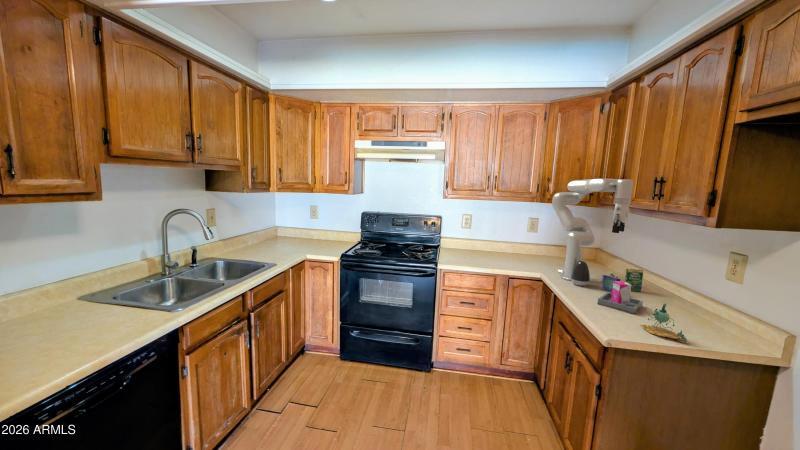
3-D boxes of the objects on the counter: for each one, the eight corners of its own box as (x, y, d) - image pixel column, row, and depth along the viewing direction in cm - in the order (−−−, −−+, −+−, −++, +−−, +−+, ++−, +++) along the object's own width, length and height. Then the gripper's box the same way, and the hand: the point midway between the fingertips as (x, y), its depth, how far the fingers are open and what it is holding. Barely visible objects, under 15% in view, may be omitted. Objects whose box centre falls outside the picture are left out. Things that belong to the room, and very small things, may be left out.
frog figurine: (675, 347, 122) (677, 310, 121) (632, 330, 139) (633, 297, 139) (694, 344, 124) (695, 308, 123) (649, 328, 141) (650, 296, 141)
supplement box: (621, 301, 165) (624, 281, 163) (629, 306, 159) (632, 284, 157) (610, 301, 165) (613, 280, 164) (617, 305, 159) (620, 284, 158)
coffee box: (624, 290, 186) (627, 269, 184) (623, 288, 189) (626, 267, 187) (641, 292, 183) (644, 271, 181) (639, 291, 185) (642, 269, 184)
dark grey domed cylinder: (586, 282, 197) (588, 259, 195) (591, 288, 188) (594, 264, 185) (568, 281, 200) (571, 258, 198) (572, 286, 190) (575, 262, 188)
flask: (599, 289, 186) (602, 270, 185) (602, 288, 188) (605, 270, 186) (616, 295, 177) (619, 275, 176) (620, 294, 179) (622, 275, 177)
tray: (597, 304, 163) (598, 298, 162) (607, 297, 173) (607, 292, 173) (634, 314, 151) (635, 308, 150) (642, 306, 161) (643, 301, 161)
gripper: (625, 202, 163) (621, 234, 165) (634, 201, 174) (630, 231, 177) (609, 201, 169) (605, 232, 171) (618, 200, 180) (614, 229, 182)
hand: (617, 232), depth 174 cm, fingers open, 9 cm apart
